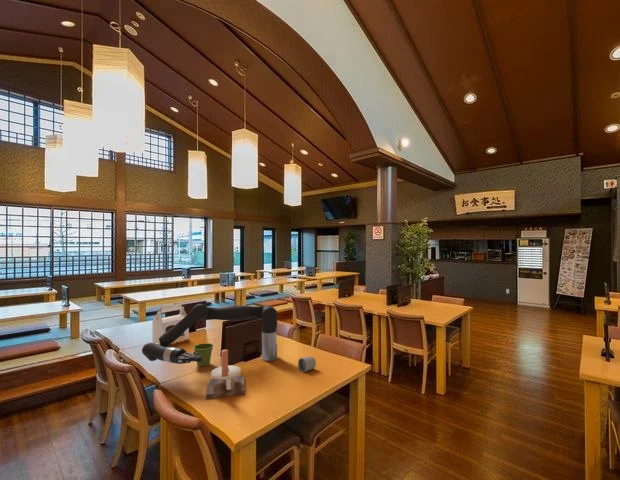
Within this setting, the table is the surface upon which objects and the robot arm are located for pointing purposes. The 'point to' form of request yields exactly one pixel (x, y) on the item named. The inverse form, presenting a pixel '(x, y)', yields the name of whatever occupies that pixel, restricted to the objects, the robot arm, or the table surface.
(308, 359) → the ceramic mug
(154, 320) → the gable box
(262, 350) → the robot arm
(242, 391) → the post base
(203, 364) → the plant pot
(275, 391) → the table surface
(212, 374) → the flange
